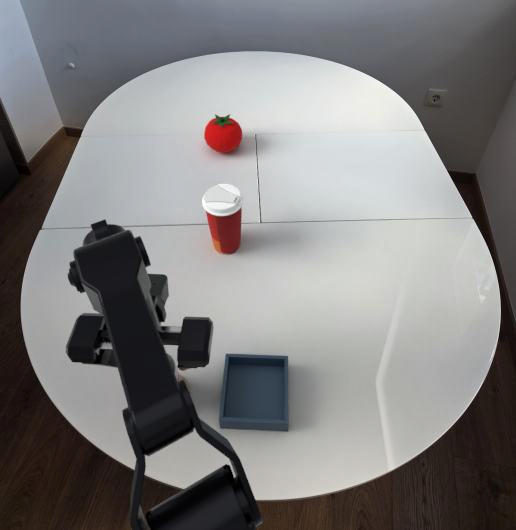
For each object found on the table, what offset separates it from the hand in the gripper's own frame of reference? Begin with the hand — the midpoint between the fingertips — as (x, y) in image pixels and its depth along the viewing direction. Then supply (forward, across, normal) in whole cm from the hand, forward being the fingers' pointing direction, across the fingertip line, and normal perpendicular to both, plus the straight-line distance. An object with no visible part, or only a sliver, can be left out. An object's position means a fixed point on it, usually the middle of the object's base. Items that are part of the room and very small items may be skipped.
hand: (152, 365), depth 64 cm
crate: (+12, -15, -1) cm, 19 cm away
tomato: (+12, -3, -67) cm, 68 cm away
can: (+12, 0, 0) cm, 12 cm away
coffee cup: (+12, -7, -33) cm, 36 cm away
